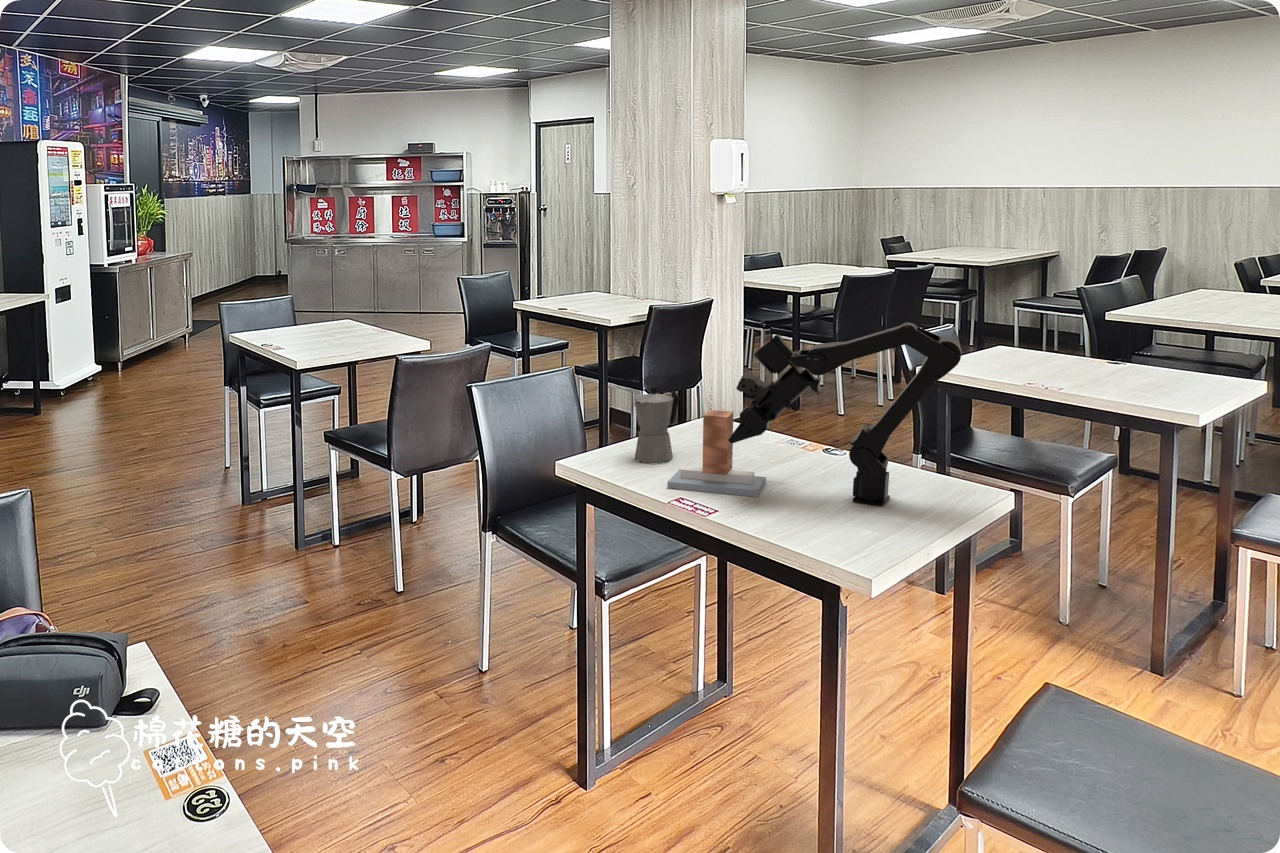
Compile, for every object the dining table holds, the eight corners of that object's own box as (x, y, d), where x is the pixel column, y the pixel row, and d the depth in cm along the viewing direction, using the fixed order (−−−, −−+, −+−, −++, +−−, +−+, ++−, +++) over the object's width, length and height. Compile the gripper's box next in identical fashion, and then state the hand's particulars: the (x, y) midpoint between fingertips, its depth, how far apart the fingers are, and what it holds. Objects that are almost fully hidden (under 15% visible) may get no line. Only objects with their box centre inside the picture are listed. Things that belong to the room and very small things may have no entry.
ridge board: (765, 483, 225) (766, 468, 224) (756, 496, 216) (757, 481, 215) (679, 475, 231) (679, 460, 230) (667, 488, 222) (667, 473, 221)
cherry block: (732, 468, 224) (733, 411, 221) (726, 475, 219) (727, 417, 216) (708, 466, 226) (709, 409, 223) (702, 472, 221) (703, 415, 218)
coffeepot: (649, 468, 237) (649, 393, 232) (620, 460, 243) (620, 387, 239) (692, 455, 248) (692, 383, 243) (663, 448, 254) (663, 378, 250)
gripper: (768, 354, 222) (718, 400, 228) (751, 370, 205) (698, 419, 211) (802, 391, 222) (752, 436, 228) (788, 410, 205) (734, 458, 211)
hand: (734, 436), depth 219 cm, fingers open, 9 cm apart
